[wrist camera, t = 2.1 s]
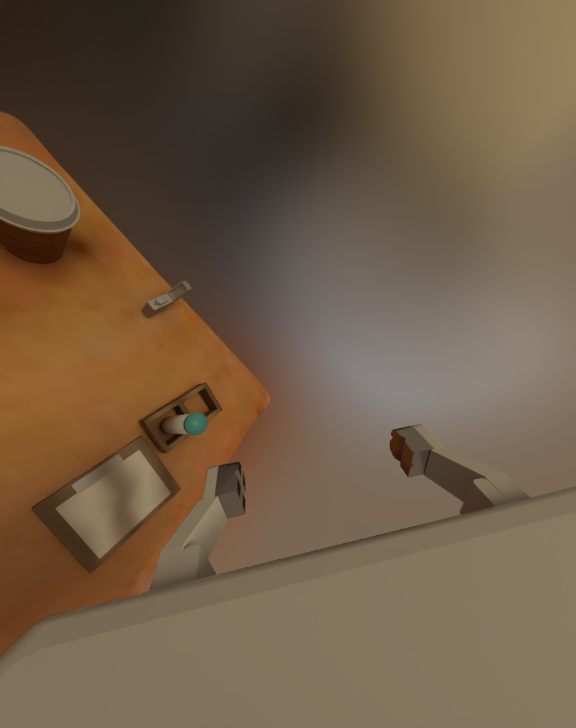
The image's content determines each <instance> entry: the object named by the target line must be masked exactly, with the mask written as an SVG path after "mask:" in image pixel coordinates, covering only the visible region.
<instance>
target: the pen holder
mask: <svg viewBox="0 0 576 728" xmlns="http://www.w3.org/2000/svg"><path fill="white" fill-rule="evenodd" d="M197 392H199V393H200V395H201V396H202V398H203V400H204V401H205V403H206V404H207V406H208V408H209V409H210V410H209V411H208V412H206V413H205V414H203V415H205V417H206V418H207V421H209V420H210V419H211V418H213V417H214V416H215V415H217V414H218V413H219V412H220V411H222V410H223V409H222V408H221V406H220V404H219V403H218V401H217V399H216V398H215V396H214V395H213V393H212V391H211V390H210V388H209V386H208V385H207V383H206V382H205V383H202V384H199V385H197V386H196V387H194V388H192V389H191V390H189V391H187V392H186V393H184V394H182V395H181V396H179V397H178V398H176V399H174V400H173V401H171V402H169V403H168V404H166V405H165V406H163V407H161V408H160V409H158V410H156V411H155V412H153V413H151V414H150V415H148V416H147V417H145V418H143V419H142V420H140V421H138V422H139V423H140V424H141V426H142V427H143V429H144V430H145V432H146V433H147V434H148V436H149V437H150V439H151V440H152V441H153V443H154V444H155V446H156V447H157V448H158V450H159V451H160V452H163V453H167V452H169V451H170V450H171V449H173V448H174V447H175V446H176V445H178V444H179V443H180V442H182V441H183V440H184V439H185V438H187V437H188V436H189V435H190V434H176V435H175V436H173V437H172V438H171V439H169V440H168V441H167V442H165V441H164V440H163V438H162V437H161V435H160V434H159V432H158V431H157V430H156V428H155V427H154V425H153V424H152V421H153V420H155V419H157V418H158V417H160V416H161V415H163V414H164V413H166V412H168V411H169V410H171V409H172V408H174V410H175V411H176V413H177V414H178V415H185V414H190V413H189V411H188V410H187V408H186V407H185V405H184V404H183V401H185V400H186V399H188V398H189V397H191V396H193V395H194V394H196V393H197Z"/></svg>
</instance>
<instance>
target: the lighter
mask: <svg viewBox="0 0 576 728" xmlns="http://www.w3.org/2000/svg"><path fill="white" fill-rule="evenodd" d="M190 290H191V287H190V285H189V284H188V283H187V281H183V282H180V283H179V284H178V285H177V286H175V287H174V288H173V289H172V290H170V291H169V292H168V294H164V295H162V296H160V297H157V298H155V299H153V300H150V301H148V303H147V304H146V305H145V307H144V308H143V310H142V312H143V313H144V314H145V316H146V317H147V318H150V317H152V316H154V315H156V314H158V313H160V312H162V311H164V310H166V309H167V308H168V306H169V305H170V304H171V303H172V302H173V301H175V300H178V299H179V298H181V297H182V296H183V295H185V294H186V293H187V292H188V291H190Z"/></svg>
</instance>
